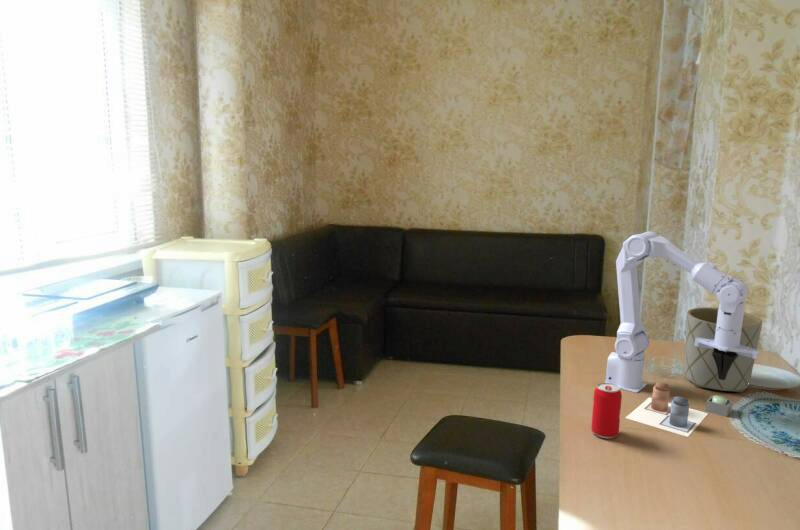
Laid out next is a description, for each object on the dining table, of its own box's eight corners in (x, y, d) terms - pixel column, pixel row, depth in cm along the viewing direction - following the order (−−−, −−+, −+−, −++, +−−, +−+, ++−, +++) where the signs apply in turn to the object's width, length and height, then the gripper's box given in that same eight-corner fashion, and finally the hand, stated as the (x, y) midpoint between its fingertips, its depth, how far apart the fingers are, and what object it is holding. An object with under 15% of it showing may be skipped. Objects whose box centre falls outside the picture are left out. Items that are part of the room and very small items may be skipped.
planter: (759, 399, 169) (769, 329, 165) (683, 390, 175) (690, 321, 171) (746, 375, 187) (754, 310, 183) (677, 366, 193) (683, 304, 189)
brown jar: (648, 407, 163) (651, 384, 161) (655, 403, 165) (657, 380, 164) (663, 413, 160) (666, 389, 158) (670, 408, 163) (673, 385, 161)
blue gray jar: (666, 423, 154) (669, 399, 152) (672, 418, 157) (675, 394, 155) (683, 429, 151) (686, 404, 150) (689, 423, 154) (692, 399, 153)
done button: (709, 409, 161) (711, 398, 161) (713, 405, 164) (714, 394, 163) (724, 412, 159) (725, 402, 159) (727, 408, 162) (728, 397, 161)
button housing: (705, 411, 161) (706, 400, 161) (710, 405, 165) (711, 395, 164) (726, 417, 158) (727, 406, 158) (731, 411, 162) (732, 400, 161)
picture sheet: (625, 418, 157) (625, 417, 157) (649, 397, 170) (649, 397, 170) (687, 437, 147) (687, 436, 147) (708, 414, 160) (708, 413, 160)
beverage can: (618, 430, 151) (622, 383, 148) (618, 442, 145) (622, 393, 142) (591, 426, 153) (595, 380, 150) (590, 437, 147) (594, 389, 144)
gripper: (693, 325, 159) (687, 375, 161) (757, 337, 149) (750, 390, 152) (701, 319, 164) (695, 368, 167) (763, 331, 155) (756, 382, 157)
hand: (722, 378), depth 160 cm, fingers closed
